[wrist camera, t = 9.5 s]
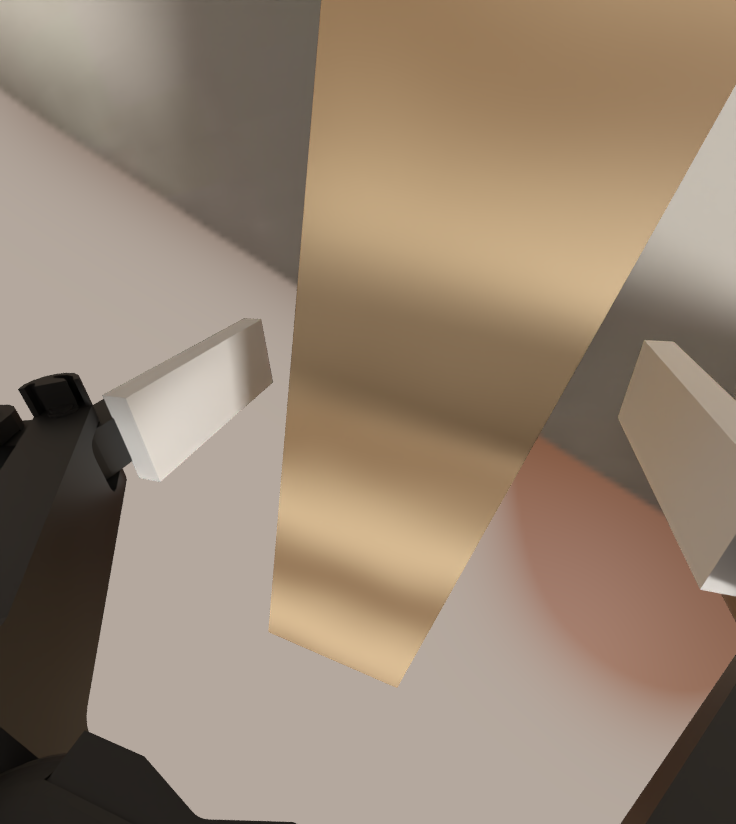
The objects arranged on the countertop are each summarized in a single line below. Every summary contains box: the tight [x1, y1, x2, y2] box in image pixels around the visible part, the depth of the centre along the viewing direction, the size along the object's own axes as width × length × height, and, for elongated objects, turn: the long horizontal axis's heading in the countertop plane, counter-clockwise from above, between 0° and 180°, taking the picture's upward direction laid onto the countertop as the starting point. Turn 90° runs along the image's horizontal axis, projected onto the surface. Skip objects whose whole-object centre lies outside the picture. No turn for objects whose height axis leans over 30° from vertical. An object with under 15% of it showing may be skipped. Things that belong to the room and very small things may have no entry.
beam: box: [269, 0, 736, 688], centre depth 12 cm, size 24×6×6 cm, turn 169°
